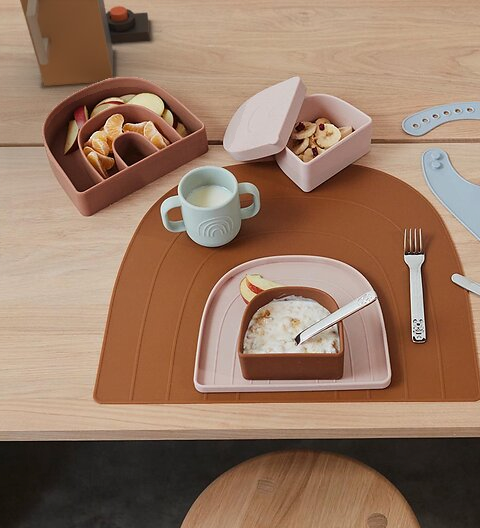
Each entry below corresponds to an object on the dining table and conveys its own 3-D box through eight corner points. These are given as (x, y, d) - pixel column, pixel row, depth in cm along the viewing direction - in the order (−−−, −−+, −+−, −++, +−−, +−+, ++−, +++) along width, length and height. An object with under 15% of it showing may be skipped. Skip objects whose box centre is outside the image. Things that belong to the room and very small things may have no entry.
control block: (94, 45, 156) (91, 28, 153) (95, 25, 161) (91, 8, 158) (149, 41, 157) (147, 24, 154) (148, 21, 162) (146, 4, 159)
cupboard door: (113, 100, 144) (90, -13, 125) (42, 106, 142) (9, -7, 124) (113, 78, 148) (91, -34, 130) (44, 83, 147) (12, -29, 128)
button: (111, 23, 155) (109, 15, 154) (111, 14, 157) (109, 6, 156) (127, 21, 155) (126, 14, 154) (127, 13, 158) (126, 5, 156)
